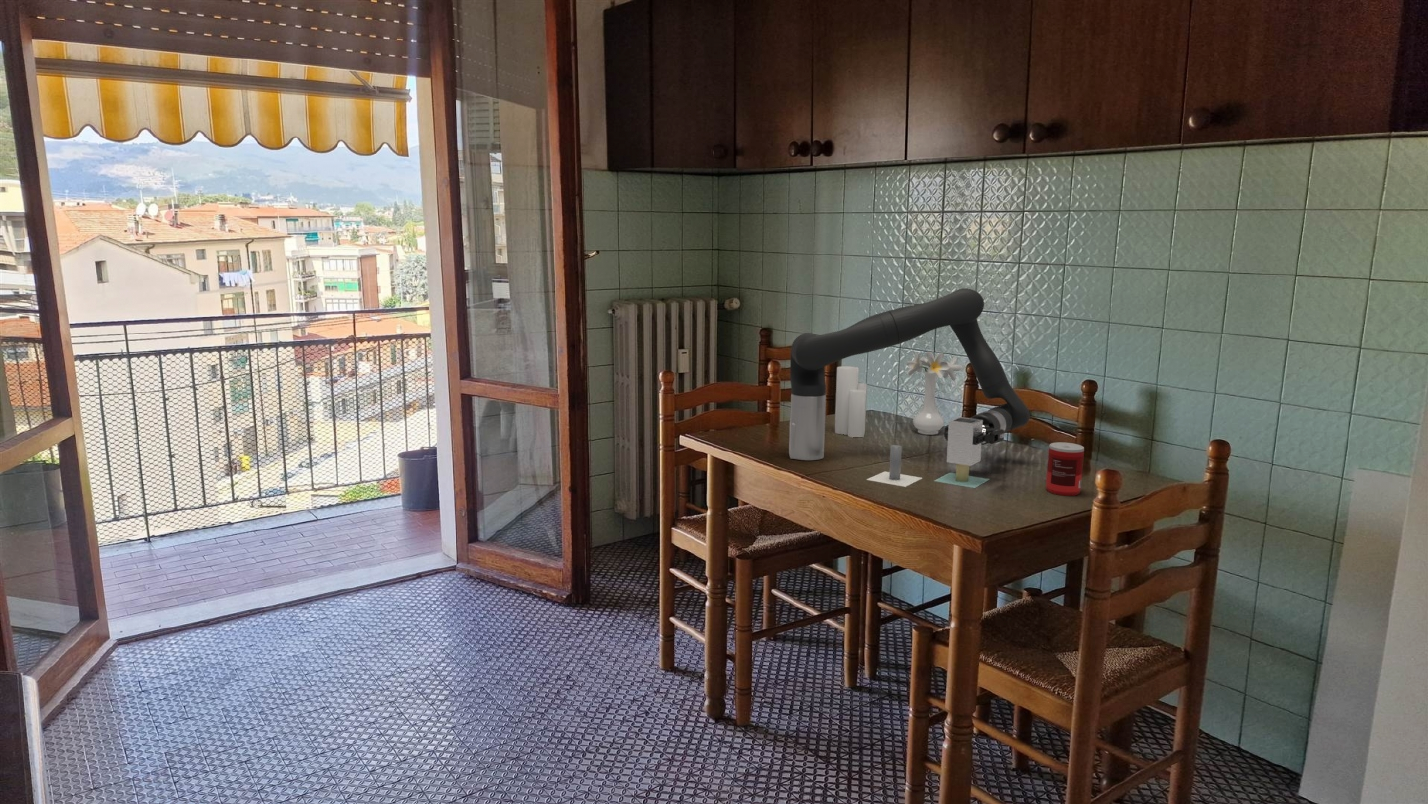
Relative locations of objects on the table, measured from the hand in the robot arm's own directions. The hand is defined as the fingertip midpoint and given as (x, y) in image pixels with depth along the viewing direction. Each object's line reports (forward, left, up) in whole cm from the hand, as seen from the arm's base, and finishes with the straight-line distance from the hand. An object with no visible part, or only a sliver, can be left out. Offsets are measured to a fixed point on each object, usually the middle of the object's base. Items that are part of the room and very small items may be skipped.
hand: (961, 438), depth 209 cm
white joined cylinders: (-18, +60, -12) cm, 64 cm away
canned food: (+24, -1, -12) cm, 27 cm away
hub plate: (+1, +2, -12) cm, 12 cm away
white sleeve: (+1, +2, -6) cm, 6 cm away
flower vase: (+6, +64, -12) cm, 65 cm away
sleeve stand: (-15, +2, -12) cm, 19 cm away
